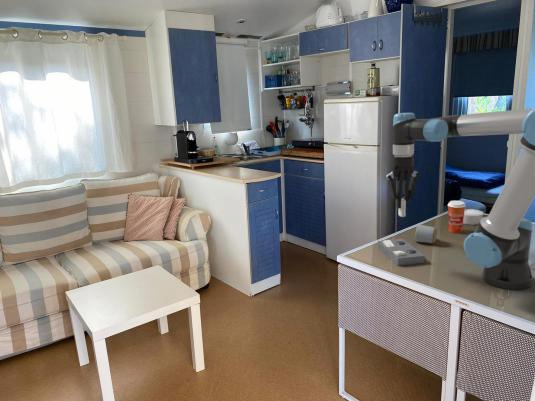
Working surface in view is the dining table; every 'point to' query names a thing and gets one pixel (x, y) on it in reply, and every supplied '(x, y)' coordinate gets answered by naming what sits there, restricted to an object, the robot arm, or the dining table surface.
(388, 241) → the rocker
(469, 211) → the ramekin
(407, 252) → the rocker switch box
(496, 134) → the robot arm
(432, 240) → the ceramic mug
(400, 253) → the rocker
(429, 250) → the dining table surface
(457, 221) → the paper cup
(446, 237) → the dining table surface
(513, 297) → the dining table surface
